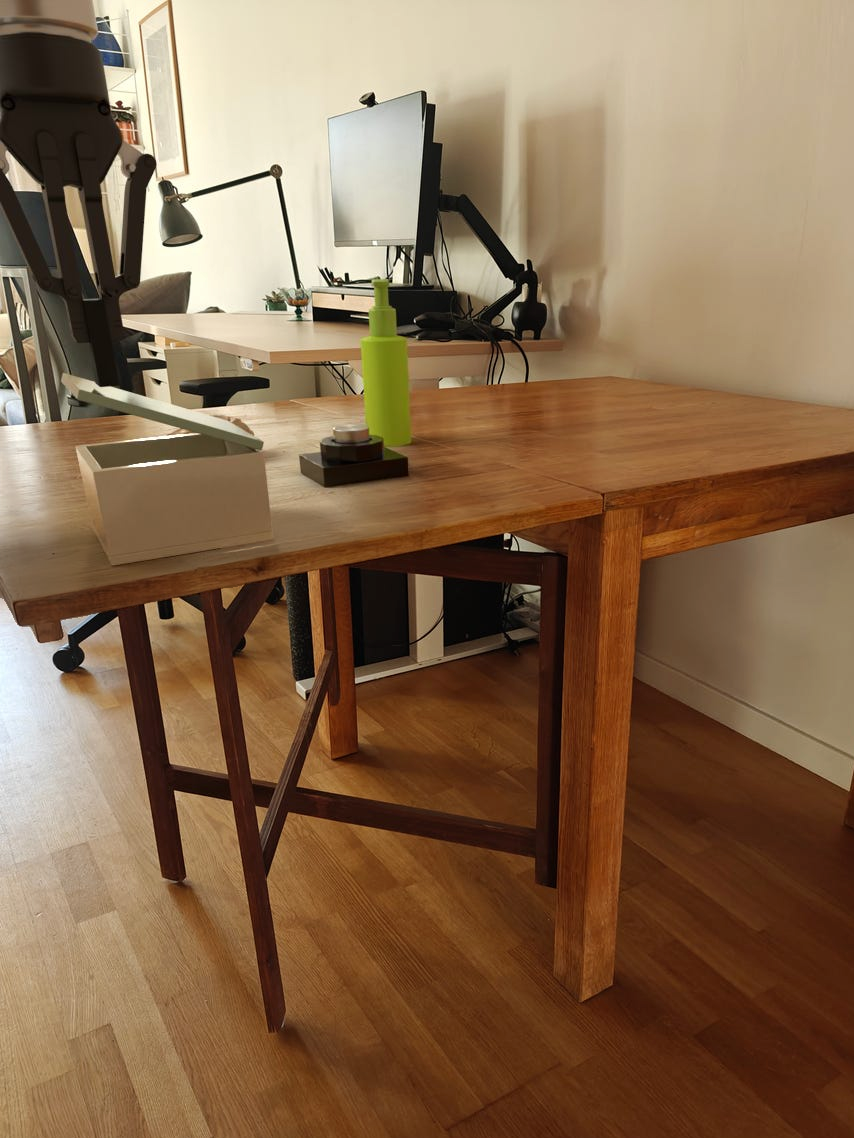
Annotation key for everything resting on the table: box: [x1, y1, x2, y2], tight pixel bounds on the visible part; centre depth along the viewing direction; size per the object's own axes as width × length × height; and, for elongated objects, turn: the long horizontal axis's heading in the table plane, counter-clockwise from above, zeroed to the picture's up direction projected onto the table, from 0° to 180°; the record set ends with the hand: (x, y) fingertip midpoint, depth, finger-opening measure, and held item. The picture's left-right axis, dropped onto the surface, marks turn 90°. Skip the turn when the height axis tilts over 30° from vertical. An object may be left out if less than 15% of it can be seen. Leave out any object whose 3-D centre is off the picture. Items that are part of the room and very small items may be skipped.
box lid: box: [60, 372, 265, 451], centre depth 74 cm, size 15×12×1 cm
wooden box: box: [75, 433, 274, 567], centre depth 76 cm, size 14×12×8 cm
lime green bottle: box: [359, 278, 412, 448], centre depth 111 cm, size 6×7×20 cm
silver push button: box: [332, 423, 370, 444], centre depth 96 cm, size 4×4×2 cm
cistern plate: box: [298, 434, 410, 489], centre depth 97 cm, size 10×8×4 cm
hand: (107, 384), depth 71 cm, fingers closed
